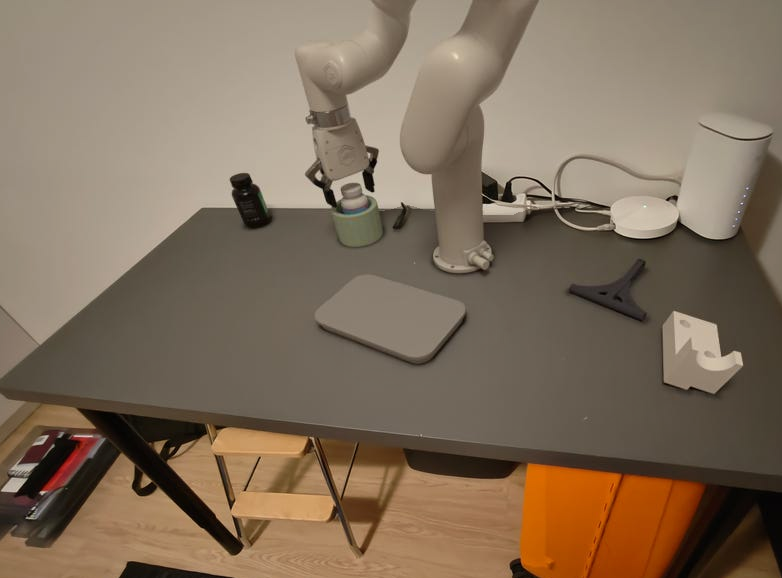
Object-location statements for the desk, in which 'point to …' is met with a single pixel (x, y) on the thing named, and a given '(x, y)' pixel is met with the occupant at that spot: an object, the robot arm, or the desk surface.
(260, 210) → the supplement bottle
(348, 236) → the green cylindrical sleeve
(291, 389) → the desk surface
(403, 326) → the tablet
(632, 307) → the bracket
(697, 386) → the bracket
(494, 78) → the robot arm
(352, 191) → the pill bottle
